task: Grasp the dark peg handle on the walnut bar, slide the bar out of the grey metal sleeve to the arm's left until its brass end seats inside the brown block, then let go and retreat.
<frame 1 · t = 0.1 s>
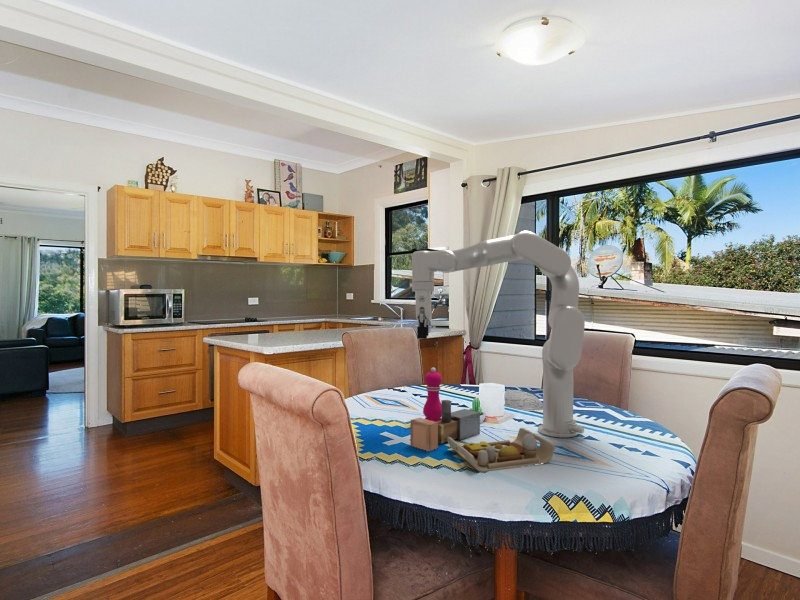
hand: (423, 337, 162), 31 cm above the table, tool pointing down, fingers open, 9 cm apart
sleeve: (472, 431, 158), on the table
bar: (453, 417, 152), point 6 cm above the table, slide at 0.0 cm
brown block: (424, 446, 143), on the table
toy food set: (498, 458, 135), on the table
pepper mill: (433, 424, 167), on the table
grey carved stone: (518, 405, 196), on the table
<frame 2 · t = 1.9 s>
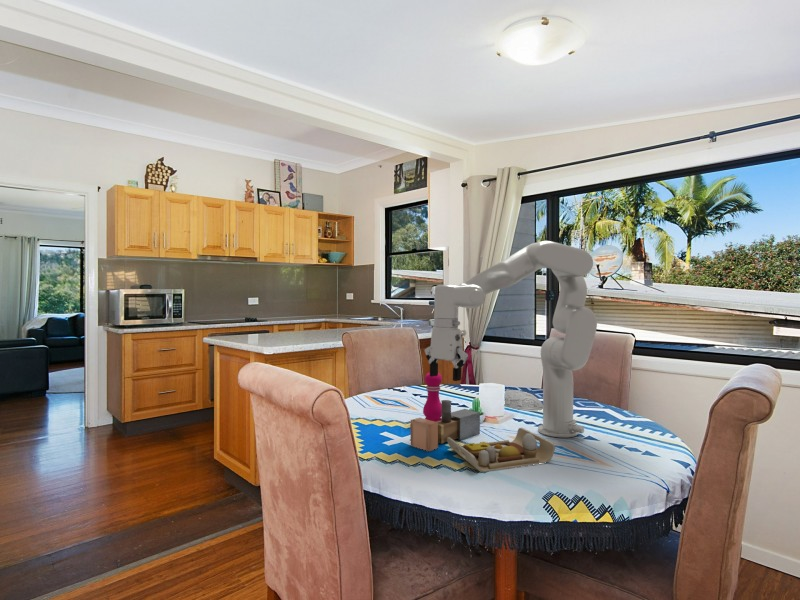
hand: (445, 378, 149), 20 cm above the table, tool pointing down, fingers open, 9 cm apart
nothing on the table moved.
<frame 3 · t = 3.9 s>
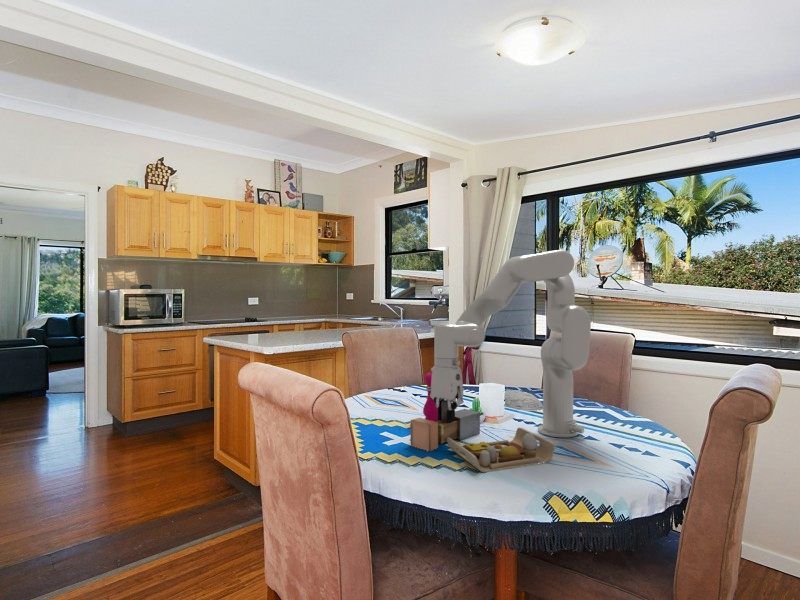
hand: (446, 420, 149), 6 cm above the table, tool pointing down, fingers closed on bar, 3 cm apart
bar: (453, 417, 152), point 6 cm above the table, slide at 0.0 cm, touching gripper
everything else where it was.
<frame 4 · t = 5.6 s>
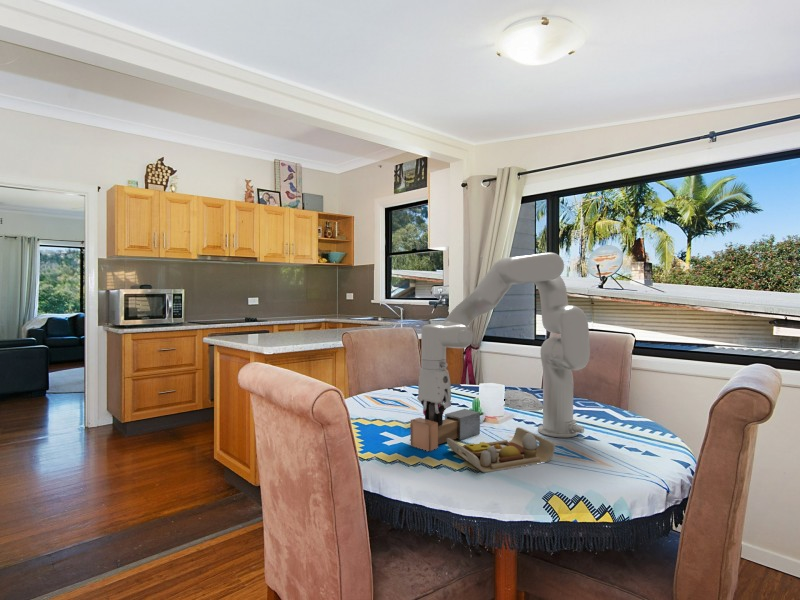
hand: (433, 423, 145), 6 cm above the table, tool pointing down, fingers closed on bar, 3 cm apart
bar: (441, 421, 148), point 6 cm above the table, slide at 5.8 cm, touching gripper
everything else where it was.
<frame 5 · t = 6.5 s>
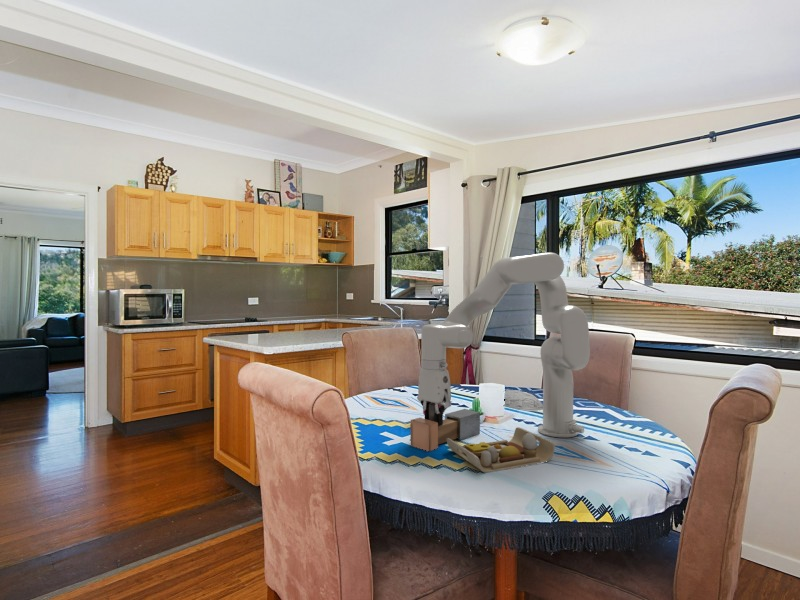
hand: (433, 423, 145), 6 cm above the table, tool pointing down, fingers open, 3 cm apart
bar: (441, 421, 148), point 6 cm above the table, slide at 5.8 cm
everything else where it was.
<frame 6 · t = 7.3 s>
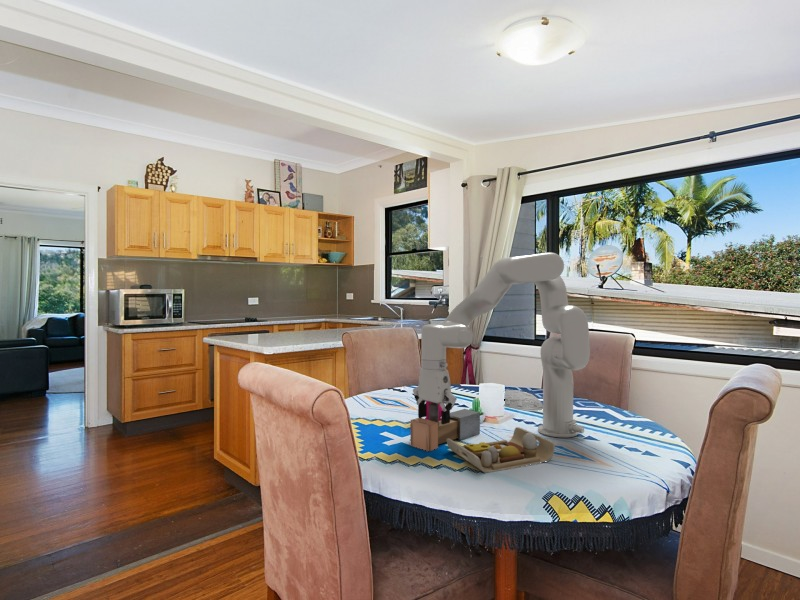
hand: (433, 420, 145), 7 cm above the table, tool pointing down, fingers open, 9 cm apart
nothing on the table moved.
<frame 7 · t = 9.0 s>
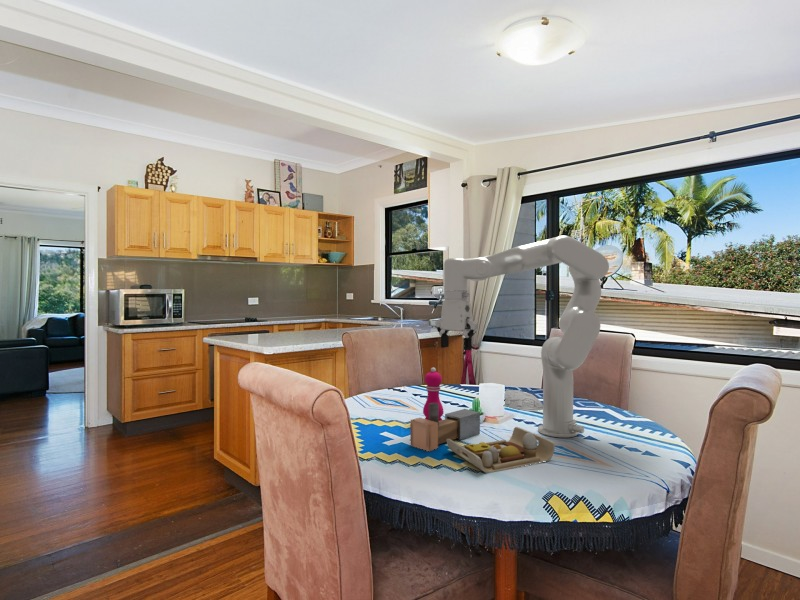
hand: (455, 348, 155), 28 cm above the table, tool pointing down, fingers open, 9 cm apart
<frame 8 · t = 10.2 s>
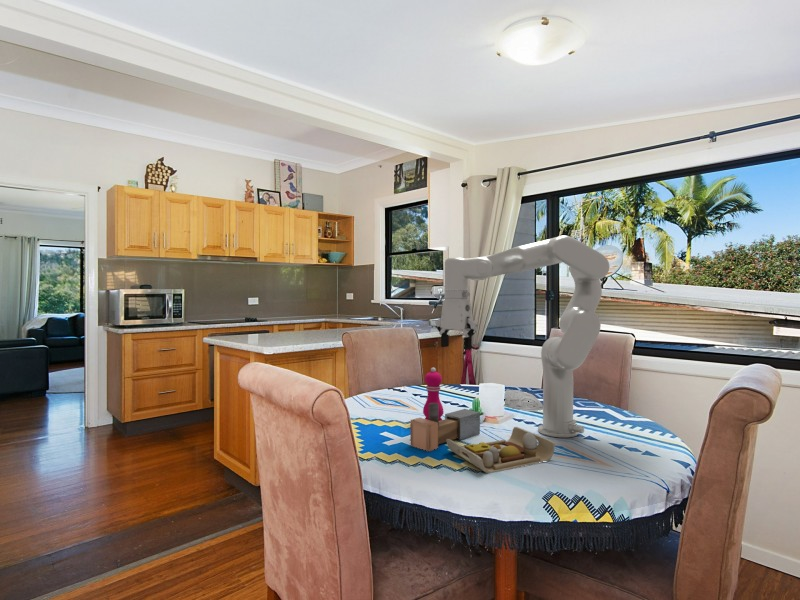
hand: (456, 348, 155), 28 cm above the table, tool pointing down, fingers open, 9 cm apart
nothing on the table moved.
at the end: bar slide at 5.8 cm; the gripper is holding nothing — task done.
